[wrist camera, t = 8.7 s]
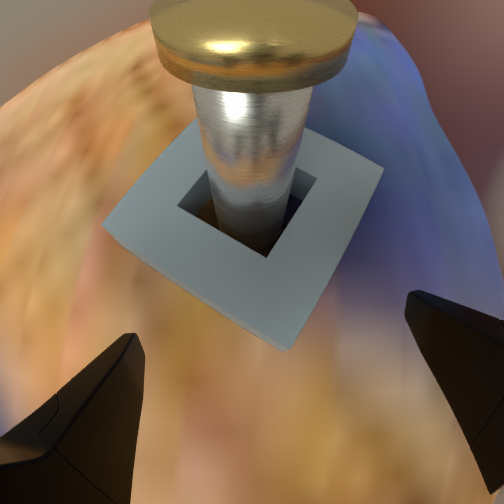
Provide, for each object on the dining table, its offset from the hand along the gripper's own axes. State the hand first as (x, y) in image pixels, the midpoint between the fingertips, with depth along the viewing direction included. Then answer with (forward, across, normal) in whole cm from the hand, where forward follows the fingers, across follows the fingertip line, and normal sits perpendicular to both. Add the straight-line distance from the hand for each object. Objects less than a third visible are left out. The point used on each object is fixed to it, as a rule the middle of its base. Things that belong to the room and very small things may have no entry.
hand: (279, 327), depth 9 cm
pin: (+11, 0, 0) cm, 11 cm away
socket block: (+11, 0, 0) cm, 11 cm away
